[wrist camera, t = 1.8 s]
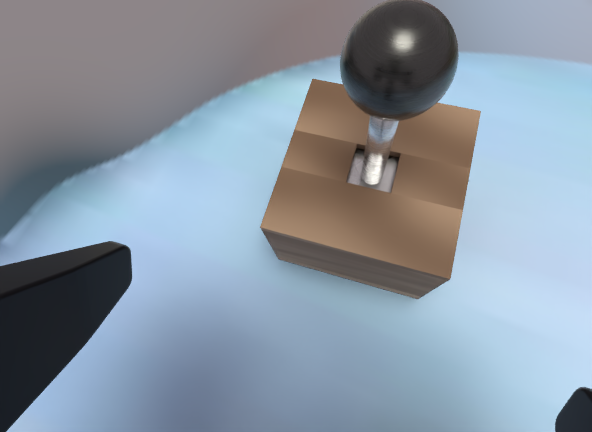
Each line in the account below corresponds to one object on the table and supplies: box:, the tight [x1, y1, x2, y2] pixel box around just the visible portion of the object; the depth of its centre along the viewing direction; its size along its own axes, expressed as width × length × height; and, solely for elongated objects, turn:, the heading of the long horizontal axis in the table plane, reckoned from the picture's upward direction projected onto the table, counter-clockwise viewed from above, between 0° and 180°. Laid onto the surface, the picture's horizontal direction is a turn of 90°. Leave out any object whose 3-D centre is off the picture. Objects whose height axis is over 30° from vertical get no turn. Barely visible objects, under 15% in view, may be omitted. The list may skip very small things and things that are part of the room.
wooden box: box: [260, 79, 481, 299], centre depth 20 cm, size 8×8×6 cm
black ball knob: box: [340, 0, 458, 193], centre depth 14 cm, size 6×6×9 cm
